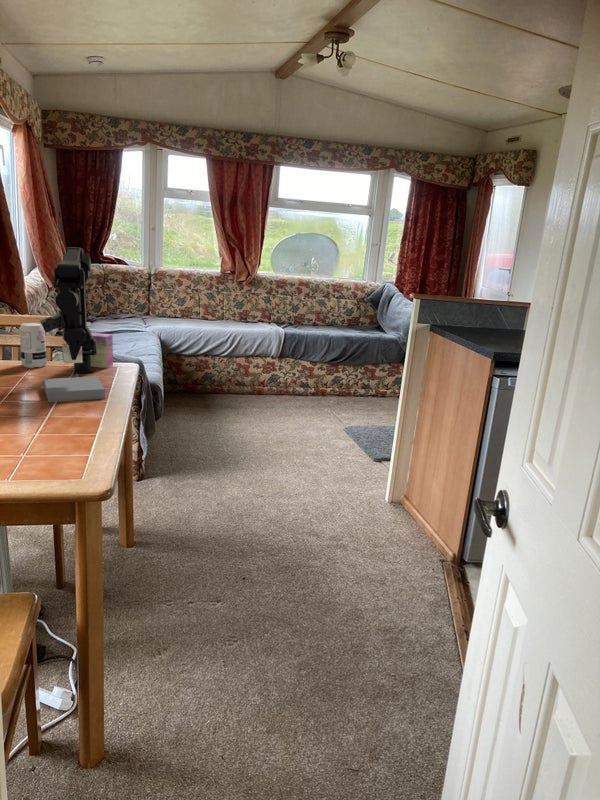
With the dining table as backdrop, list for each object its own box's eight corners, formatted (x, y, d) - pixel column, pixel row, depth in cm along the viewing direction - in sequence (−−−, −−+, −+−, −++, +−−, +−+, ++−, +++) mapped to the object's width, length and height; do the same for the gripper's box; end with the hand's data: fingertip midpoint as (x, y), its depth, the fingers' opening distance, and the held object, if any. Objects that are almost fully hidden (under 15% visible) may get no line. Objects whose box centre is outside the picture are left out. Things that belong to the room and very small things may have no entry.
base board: (44, 388, 191) (43, 379, 190) (97, 385, 198) (96, 376, 197) (48, 402, 178) (48, 392, 177) (105, 398, 185) (104, 388, 184)
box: (113, 365, 226) (112, 333, 223) (107, 368, 221) (106, 336, 218) (86, 362, 227) (85, 331, 224) (79, 366, 222) (78, 334, 218)
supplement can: (22, 363, 221) (20, 322, 216) (47, 363, 223) (45, 322, 219) (20, 368, 213) (17, 326, 209) (46, 368, 216) (43, 326, 212)
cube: (63, 359, 186) (62, 343, 185) (80, 359, 188) (79, 343, 187) (64, 363, 182) (64, 346, 181) (82, 362, 184) (81, 346, 183)
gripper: (38, 302, 185) (41, 352, 189) (43, 311, 169) (46, 365, 173) (77, 302, 190) (79, 351, 194) (85, 311, 174) (87, 364, 178)
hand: (72, 358), depth 185 cm, fingers closed on cube, 5 cm apart
